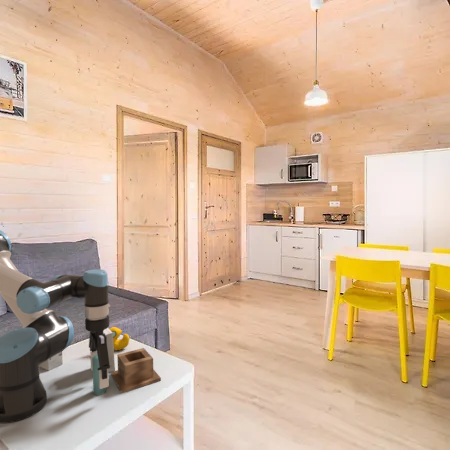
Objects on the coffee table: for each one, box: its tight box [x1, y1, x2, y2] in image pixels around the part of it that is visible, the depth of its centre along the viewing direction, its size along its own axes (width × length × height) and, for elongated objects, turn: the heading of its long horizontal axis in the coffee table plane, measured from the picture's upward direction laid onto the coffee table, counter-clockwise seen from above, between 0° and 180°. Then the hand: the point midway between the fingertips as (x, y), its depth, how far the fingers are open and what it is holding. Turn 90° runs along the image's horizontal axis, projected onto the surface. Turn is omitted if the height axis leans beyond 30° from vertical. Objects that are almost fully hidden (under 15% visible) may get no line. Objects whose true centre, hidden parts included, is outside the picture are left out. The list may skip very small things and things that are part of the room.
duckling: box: [109, 326, 130, 352], centre depth 142 cm, size 11×5×10 cm, turn 105°
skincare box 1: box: [39, 351, 63, 372], centre depth 128 cm, size 6×6×7 cm
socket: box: [110, 347, 162, 394], centre depth 119 cm, size 14×14×8 cm
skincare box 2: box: [96, 327, 116, 373], centre depth 126 cm, size 8×6×15 cm
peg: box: [92, 355, 107, 396], centre depth 110 cm, size 4×4×12 cm
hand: (99, 378), depth 111 cm, fingers open, 13 cm apart
